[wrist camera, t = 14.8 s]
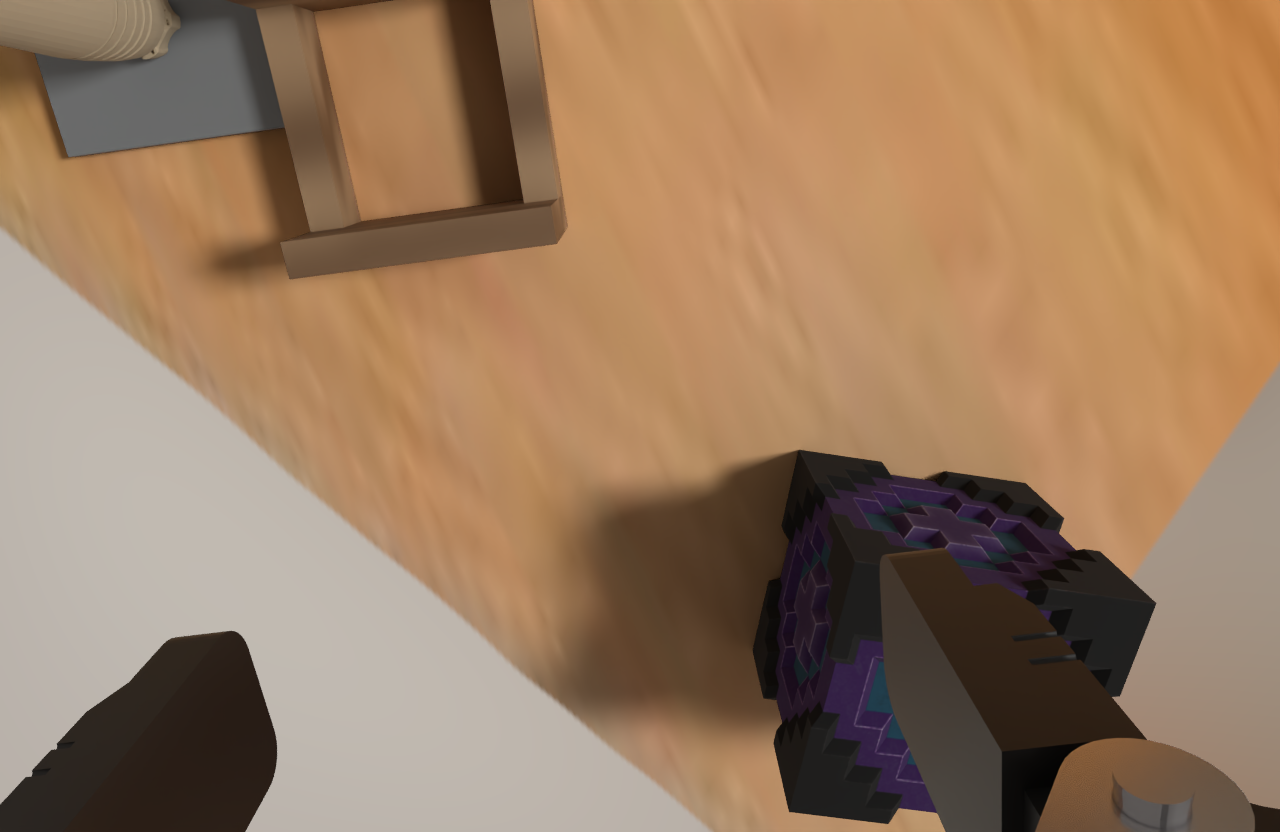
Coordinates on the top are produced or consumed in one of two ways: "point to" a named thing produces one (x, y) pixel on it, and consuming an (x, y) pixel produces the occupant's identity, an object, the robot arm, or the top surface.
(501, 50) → the frame
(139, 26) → the handle
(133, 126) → the mat
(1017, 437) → the top surface
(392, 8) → the top surface
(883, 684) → the energy cube
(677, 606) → the top surface
